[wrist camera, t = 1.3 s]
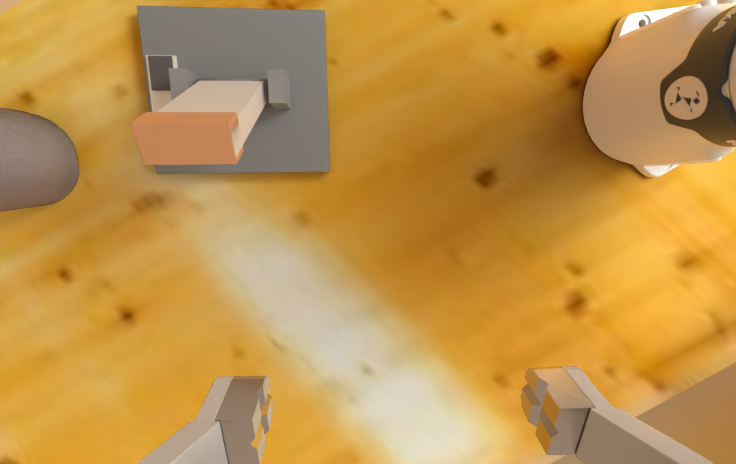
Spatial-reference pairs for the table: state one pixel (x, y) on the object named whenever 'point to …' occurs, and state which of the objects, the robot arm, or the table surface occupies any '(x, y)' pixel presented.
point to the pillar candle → (34, 161)
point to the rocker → (202, 123)
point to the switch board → (246, 77)
